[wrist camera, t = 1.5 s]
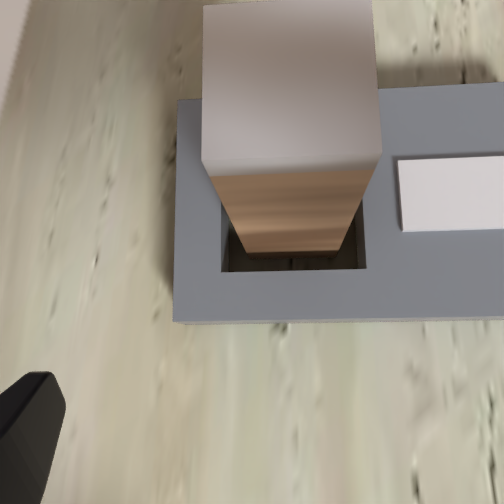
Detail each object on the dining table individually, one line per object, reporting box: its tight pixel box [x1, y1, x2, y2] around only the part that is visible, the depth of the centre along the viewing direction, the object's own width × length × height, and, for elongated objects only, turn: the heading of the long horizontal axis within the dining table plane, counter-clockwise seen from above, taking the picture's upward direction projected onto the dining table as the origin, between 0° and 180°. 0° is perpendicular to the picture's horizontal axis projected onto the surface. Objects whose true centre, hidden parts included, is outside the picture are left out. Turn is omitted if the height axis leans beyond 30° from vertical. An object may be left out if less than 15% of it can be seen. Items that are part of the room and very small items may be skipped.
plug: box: [201, 0, 383, 259], centre depth 17 cm, size 4×4×12 cm
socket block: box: [173, 82, 504, 325], centre depth 21 cm, size 10×16×3 cm, turn 91°
